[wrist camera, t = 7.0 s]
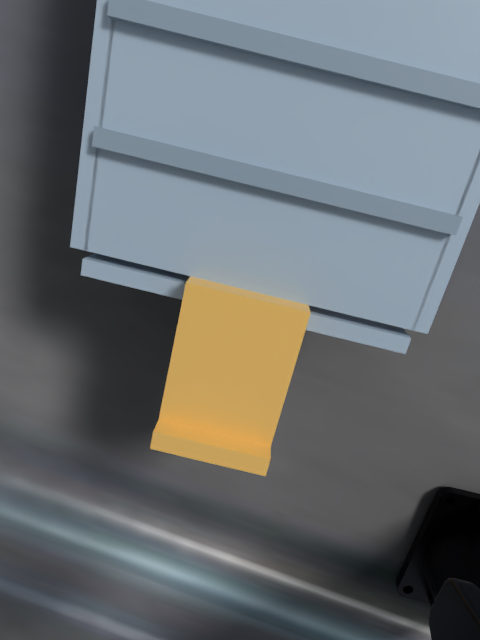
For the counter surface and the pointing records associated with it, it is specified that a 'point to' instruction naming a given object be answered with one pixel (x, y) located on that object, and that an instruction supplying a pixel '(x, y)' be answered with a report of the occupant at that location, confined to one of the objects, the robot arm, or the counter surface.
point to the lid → (276, 187)
